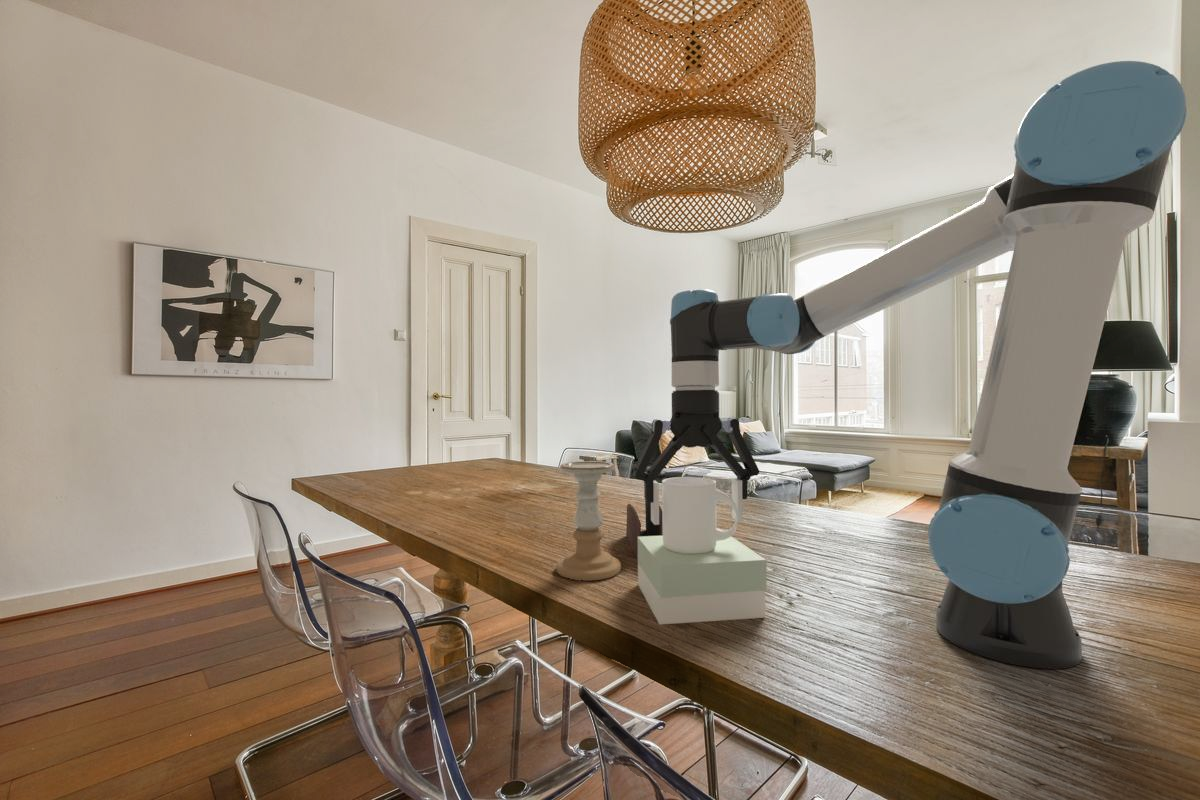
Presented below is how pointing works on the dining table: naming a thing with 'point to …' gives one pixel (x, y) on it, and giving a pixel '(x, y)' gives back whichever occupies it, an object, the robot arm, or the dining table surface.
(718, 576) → the tower top
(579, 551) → the candle holder
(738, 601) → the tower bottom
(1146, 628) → the dining table surface
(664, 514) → the mug
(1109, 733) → the dining table surface
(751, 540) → the dining table surface
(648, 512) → the letter holder
